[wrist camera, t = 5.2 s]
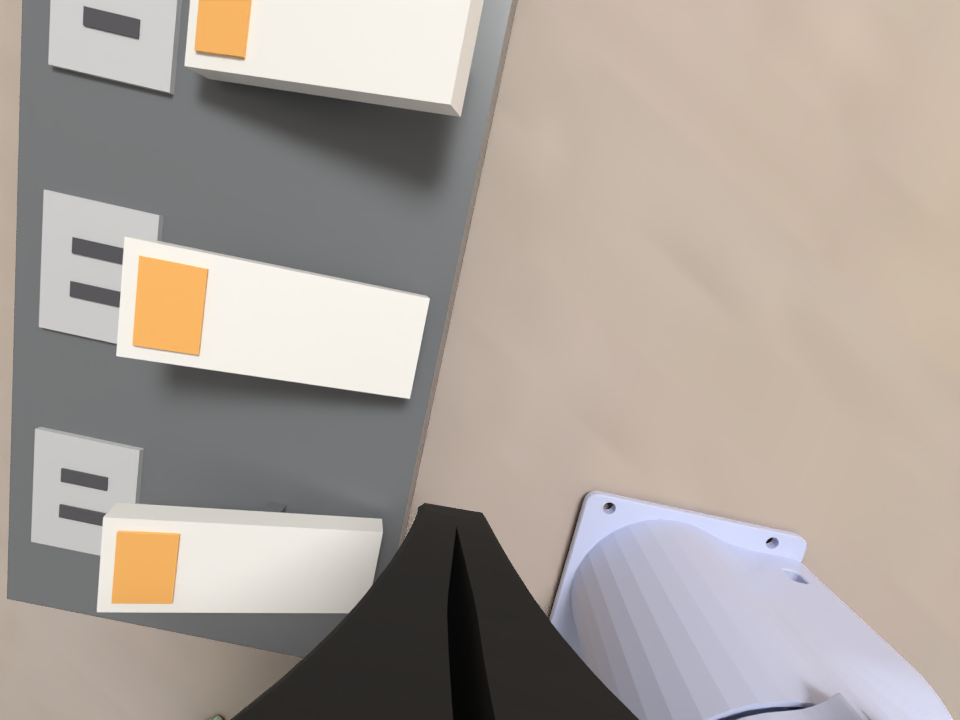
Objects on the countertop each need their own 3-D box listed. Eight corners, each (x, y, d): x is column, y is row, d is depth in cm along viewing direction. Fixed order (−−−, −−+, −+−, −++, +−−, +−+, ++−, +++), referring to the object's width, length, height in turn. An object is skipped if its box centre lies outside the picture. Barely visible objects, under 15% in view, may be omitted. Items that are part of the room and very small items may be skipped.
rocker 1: (488, -23, 11) (478, -49, 10) (460, 117, 12) (449, 102, 11) (220, -43, 13) (192, -68, 12) (208, 78, 14) (181, 64, 13)
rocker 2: (382, 519, 16) (383, 533, 16) (366, 596, 17) (366, 615, 16) (117, 502, 14) (100, 519, 13) (110, 593, 15) (94, 614, 14)
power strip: (524, -34, 16) (536, -130, 12) (388, 614, 21) (366, 692, 17) (115, -135, 15) (-7, -268, 12) (75, 551, 20) (-19, 616, 17)
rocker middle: (427, 295, 15) (430, 299, 14) (408, 391, 15) (409, 399, 14) (139, 236, 13) (122, 236, 12) (130, 349, 13) (114, 357, 12)
